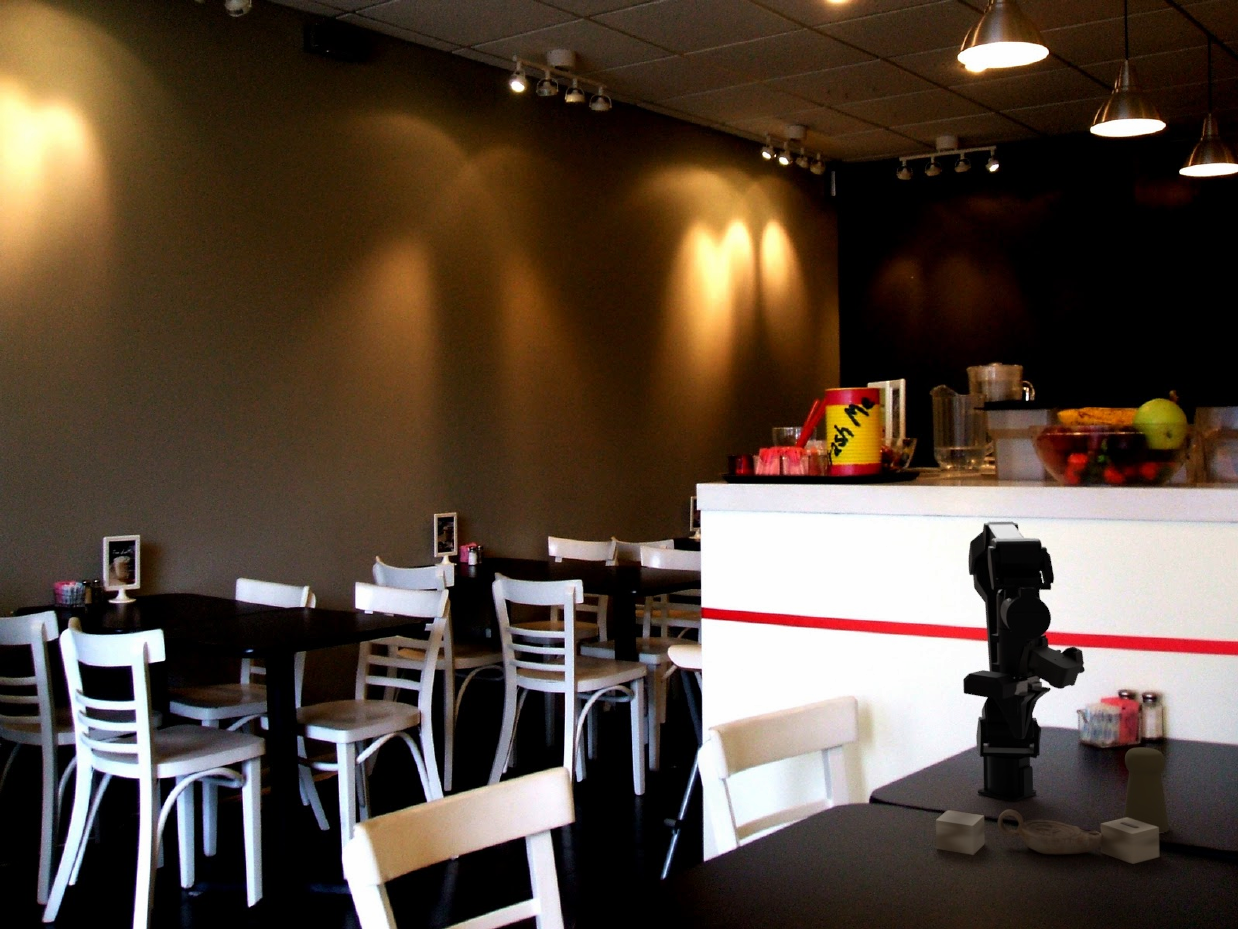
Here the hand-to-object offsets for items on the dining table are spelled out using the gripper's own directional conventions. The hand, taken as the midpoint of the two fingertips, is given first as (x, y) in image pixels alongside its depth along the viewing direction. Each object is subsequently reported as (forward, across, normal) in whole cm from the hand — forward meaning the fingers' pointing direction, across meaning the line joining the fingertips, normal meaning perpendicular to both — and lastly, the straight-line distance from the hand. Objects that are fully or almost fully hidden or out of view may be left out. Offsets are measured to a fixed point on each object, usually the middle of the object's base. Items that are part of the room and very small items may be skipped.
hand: (1019, 738), depth 174 cm
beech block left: (+13, -13, +1) cm, 18 cm away
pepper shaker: (+13, +12, -12) cm, 21 cm away
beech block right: (+13, 0, -16) cm, 20 cm away
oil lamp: (+13, -6, -8) cm, 16 cm away
